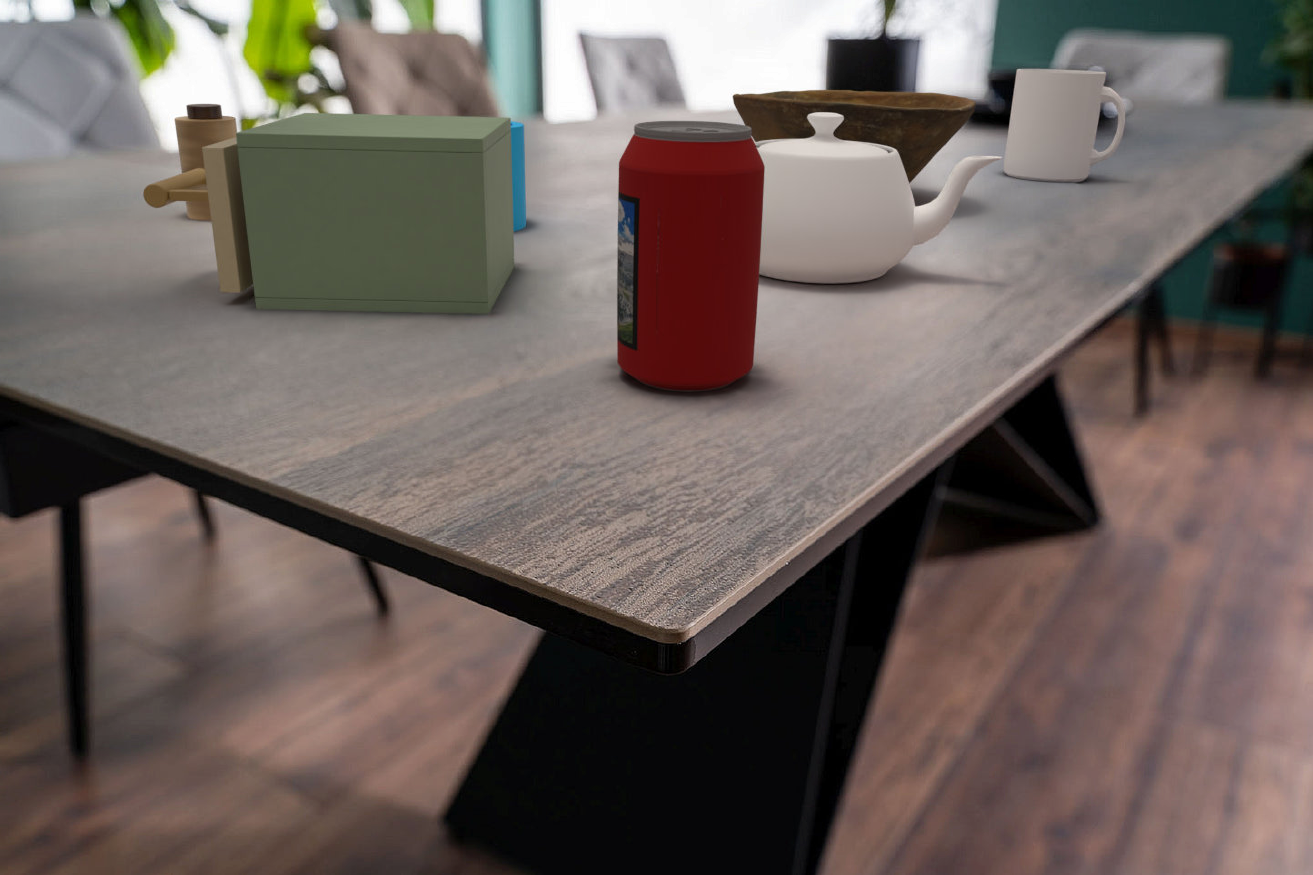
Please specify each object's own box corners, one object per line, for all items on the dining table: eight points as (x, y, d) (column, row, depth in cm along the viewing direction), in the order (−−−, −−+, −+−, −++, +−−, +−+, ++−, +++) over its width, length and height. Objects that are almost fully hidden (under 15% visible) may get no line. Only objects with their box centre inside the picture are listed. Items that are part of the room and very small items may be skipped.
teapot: (649, 280, 72) (652, 113, 68) (693, 242, 85) (698, 99, 81) (988, 308, 68) (1013, 130, 64) (982, 263, 80) (1003, 112, 76)
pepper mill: (178, 221, 88) (162, 106, 85) (200, 211, 92) (186, 102, 89) (235, 222, 88) (221, 108, 85) (254, 213, 92) (242, 103, 89)
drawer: (139, 290, 63) (116, 145, 60) (213, 250, 74) (197, 125, 71) (433, 297, 63) (425, 152, 60) (465, 256, 74) (459, 131, 71)
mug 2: (994, 170, 129) (1008, 68, 125) (1097, 174, 128) (1114, 71, 124) (1012, 182, 121) (1027, 72, 116) (1122, 186, 120) (1142, 75, 115)
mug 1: (541, 232, 87) (539, 127, 84) (442, 239, 84) (437, 130, 81) (492, 208, 97) (489, 114, 94) (402, 213, 94) (396, 116, 91)
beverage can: (653, 350, 58) (658, 116, 53) (772, 369, 55) (788, 125, 50) (591, 385, 52) (591, 127, 47) (721, 409, 49) (733, 137, 45)
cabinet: (256, 311, 63) (235, 132, 59) (318, 264, 75) (304, 112, 71) (488, 316, 63) (482, 138, 59) (514, 268, 75) (510, 117, 71)
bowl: (867, 180, 120) (876, 85, 116) (1010, 214, 100) (1026, 102, 97) (690, 188, 111) (694, 86, 107) (809, 227, 92) (819, 105, 88)
